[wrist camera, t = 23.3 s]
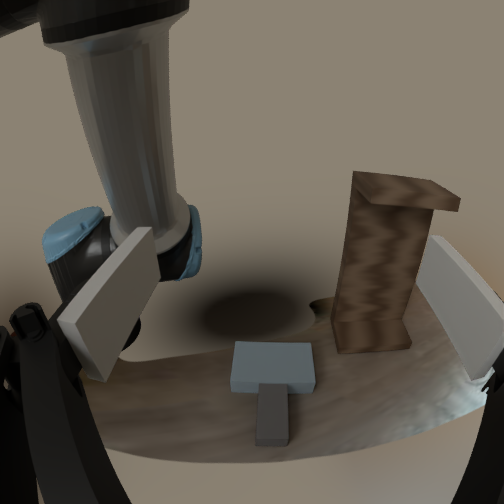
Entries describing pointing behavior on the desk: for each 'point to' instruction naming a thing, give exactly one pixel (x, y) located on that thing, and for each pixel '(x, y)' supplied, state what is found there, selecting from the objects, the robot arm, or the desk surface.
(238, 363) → the grey toy mallet
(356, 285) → the shelf stand
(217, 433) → the desk surface
